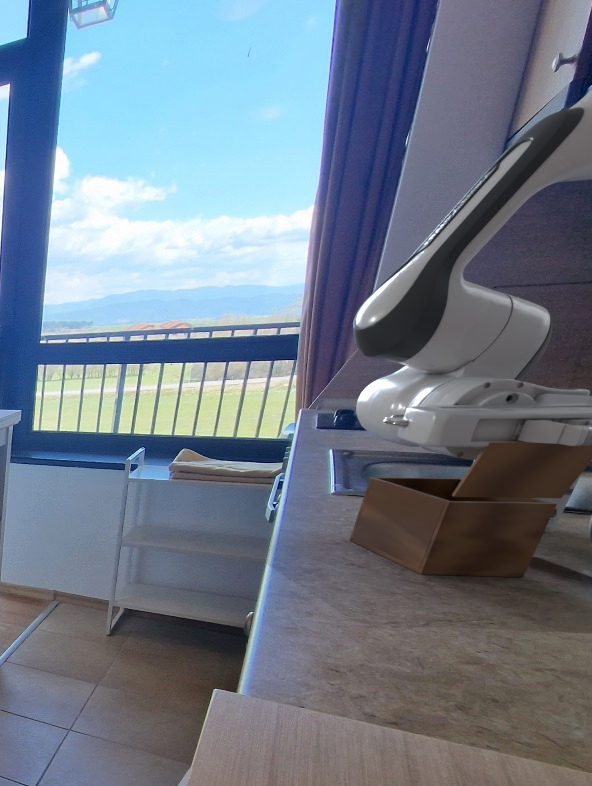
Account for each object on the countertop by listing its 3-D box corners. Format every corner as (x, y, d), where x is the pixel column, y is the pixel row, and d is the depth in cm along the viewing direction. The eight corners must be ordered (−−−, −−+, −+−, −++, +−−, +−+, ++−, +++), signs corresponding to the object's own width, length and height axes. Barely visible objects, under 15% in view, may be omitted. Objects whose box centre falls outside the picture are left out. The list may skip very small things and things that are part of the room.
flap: (602, 441, 63) (605, 442, 62) (558, 496, 67) (561, 498, 66) (487, 441, 64) (490, 442, 64) (451, 495, 68) (453, 497, 68)
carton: (435, 542, 82) (460, 477, 79) (523, 577, 70) (557, 503, 67) (348, 540, 84) (370, 477, 80) (420, 574, 72) (449, 502, 69)
